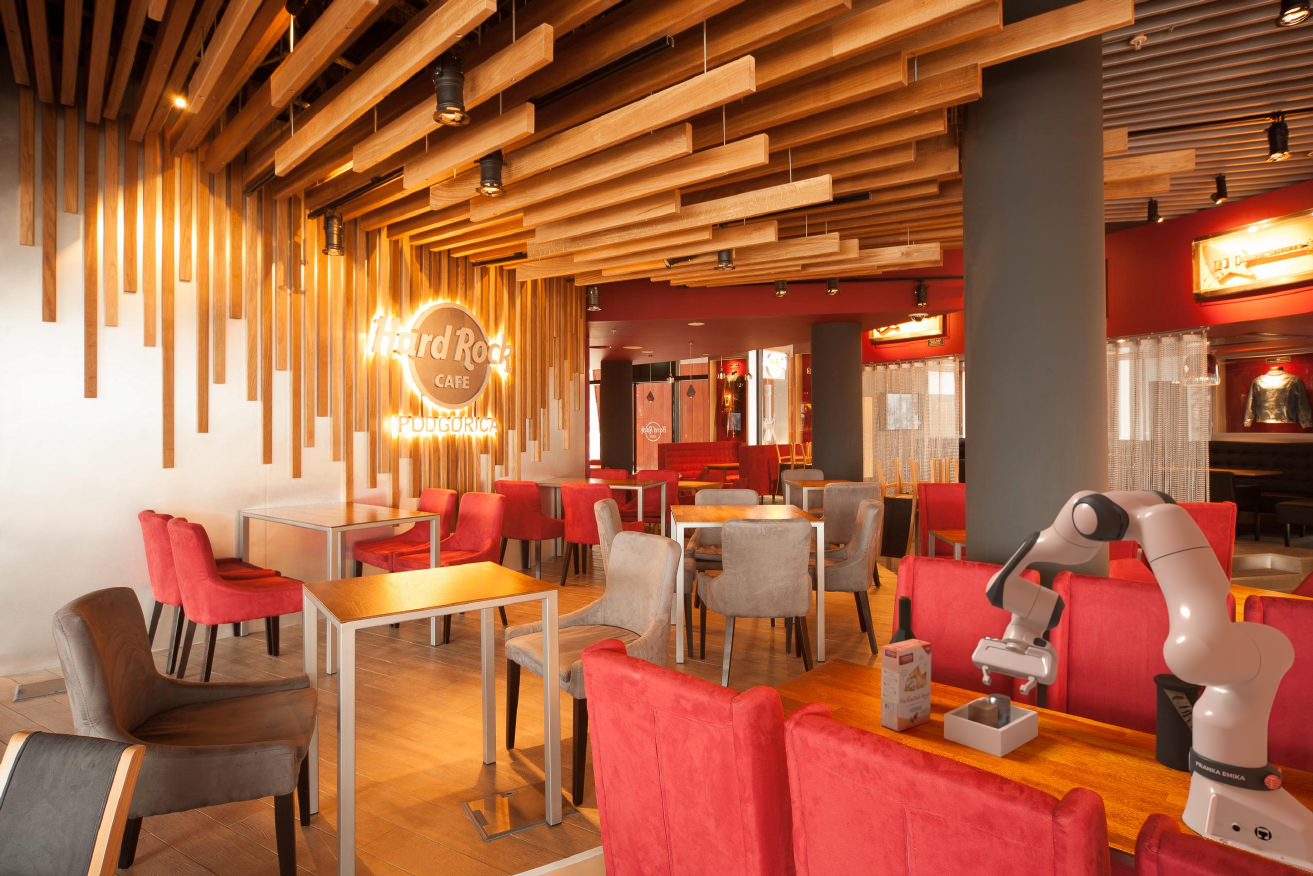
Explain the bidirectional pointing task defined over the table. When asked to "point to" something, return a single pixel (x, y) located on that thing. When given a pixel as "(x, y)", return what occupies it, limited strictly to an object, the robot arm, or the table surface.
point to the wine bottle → (904, 621)
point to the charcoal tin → (1002, 708)
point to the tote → (991, 730)
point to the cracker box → (905, 684)
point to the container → (1174, 720)
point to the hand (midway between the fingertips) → (1004, 688)
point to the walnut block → (983, 713)
